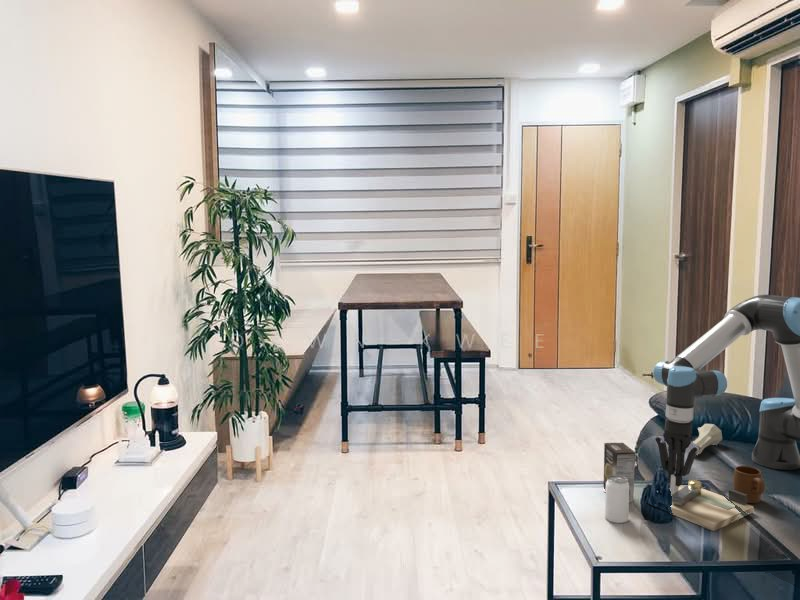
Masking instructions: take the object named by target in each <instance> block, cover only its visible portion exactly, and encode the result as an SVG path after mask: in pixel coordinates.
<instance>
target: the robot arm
mask: <svg viewBox="0 0 800 600" xmlns="http://www.w3.org/2000/svg"><path fill="white" fill-rule="evenodd" d="M759 330H763V331H768V332H771V333H772V336H773V339H774V342H775V343H776V344H778V345H780V347H781V351H782V355H783V358H784V362H785V366H786V371H787V374H788V380H789V382H790V386H791V391H792V395H793V398H788V397H768V398H764V399H762V401H761V402H760V407H759V415H758V417H759V419H758V420H759V421H758V437H757V438H758V439H757V441H756V444H755V446H754V448H753V451H752V453H751V460H752V462H754V463H755V464H757V465H759V466H762V467H766V468H769V469H775V470H784V471H789V470H791V471H793V470H798V469H800V451H799V448H798V445H797V442H800V297H797V296H791V297H789V296H783V295H782V296H781V295H773V294H772V295H771V294H759V295H755V296H752V297H750V298H747V299H744V300H743V301H740V302H739V303H737V304H736V305H735V306H733V307H732V308H730V309H729V310H727V312H725V313H724V317H723V319H722V320H720V321H719V322H718V323H716V324H715V325H714V326H713V327H711V328H710V329H709V330H708V331H706V333H704V334H703V335H702V336H701V337H699V338H698V339H697V340H696V341H694V342H693V343H692V344H690V345H689V346H687V348H686V349H684V350H683V351H681V353H679V354H678V355H677V356H676V357H675V358H673V359H672V360H670V361H668V360H661V361H659V362H658V363H656V364H655V366H654V368H653V373H652V375H653V379H654V380H655V382H657V383H658V384H660V385H663V386H665V387H667V388H666V403H665V419H664V432H663V434H662V435H659V436H657V437H655V439H654V440H655V441H656V444H657V445H658V452H659V457H660V458H659V459H660V463H661V468H662V470H663V471H666V472H667V473H668V474H667V483H668V484H669V486H670V487H669V489H670V491H671V496H672V494H674V493H676V492H678V490H679V486H681V484H683V477H685V476H687V475H689V474H690V472H691V470H692V466H693V463H694V461H695V458H696V457H697V456H696V453H697V452H698V451H699V450H700V447H699V446H696V445H695V444H694V443H693V441H694V439H693V438H692V434H693V423H694V422H693V420H694V409H695V408H694V407H695V399H699V398H700V399H701V398H709V397H716V396H719V395H720V396H721V395H722V394H724V393H725V392H726V391H727V388H728V380H727V377H726V375H725V374H724V373H723V372H721V371H719V370H712V369H710V370H703V369H702V368H703V367H705V366H706V365H707V364H708V363H710V362H711V361H712V360H714V359H715V358H716V357H717V356H719V355H720V354H721V353H722V352H723V351H725V350H726V349H727V348H728V347H730V345H732V344H733V343H734V342H735V341H736V340H738V339H739V338H740V337H741V336H747V335H749V334H750V333H752V332H753V331H759ZM689 446H690V448H689V450H690V452H689V451H688V454H687V456H686V455H685V454H686V451H687V450H688V447H689ZM685 457H686V459H685Z"/></svg>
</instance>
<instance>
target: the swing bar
mask: <svg viewBox="0 0 800 600" xmlns="http://www.w3.org/2000/svg"><path fill="white" fill-rule="evenodd" d="M687 483H688V485H687V486H685V487H684V488H682V489H681V490H679V491H678V492H676V493H674V494H672V503H674V504H677V505H681V506H682V505H684V504H685V503H687V502H688V501H690V500H691V499H693V498H695V497H696V496H698V495H701V491H702V489H703V488H702V487H703V486H702V485H703V482H701V481H700V480H697V479H689V480H688V482H687Z"/></svg>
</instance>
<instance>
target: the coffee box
mask: <svg viewBox="0 0 800 600" xmlns="http://www.w3.org/2000/svg"><path fill="white" fill-rule="evenodd" d="M603 444H604V445H603V446H604V447H603V448H604V449H603V450H604V451H603V453H604V454H603V455H604V456H603V487H604V489H605V491H606V482H607V480H608V477H609V476H622V477H625V478H627V479H628V484H629V503H633V502H634V491H635V488H634V487H635V471H636V469H635V464H636V463H635V462H636V451H634V450H633V449H632V448H631V447H629V446H628V445H626V444H625V442H604V443H603Z"/></svg>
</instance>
